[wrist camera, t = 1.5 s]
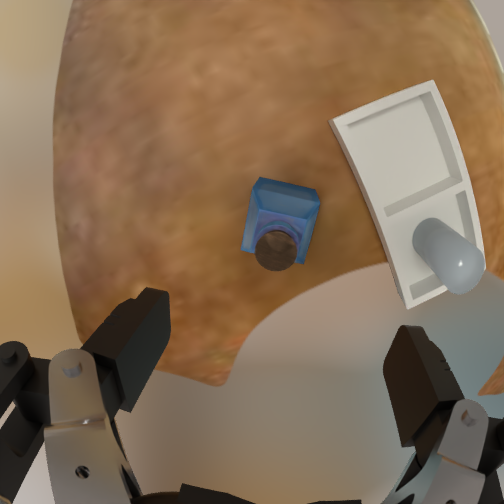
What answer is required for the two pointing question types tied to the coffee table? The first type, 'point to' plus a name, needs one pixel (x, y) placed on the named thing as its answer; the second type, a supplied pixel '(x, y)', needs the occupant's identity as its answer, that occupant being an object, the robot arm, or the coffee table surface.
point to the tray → (409, 178)
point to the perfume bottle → (280, 223)
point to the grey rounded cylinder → (449, 255)
